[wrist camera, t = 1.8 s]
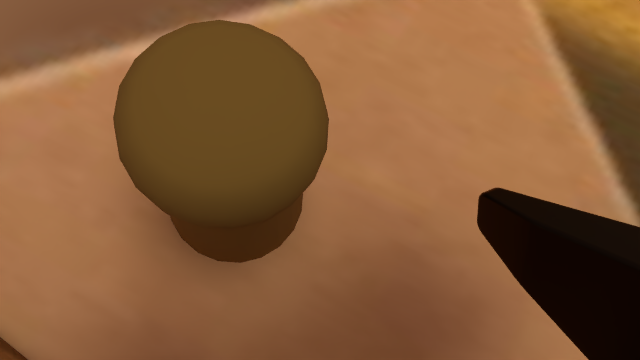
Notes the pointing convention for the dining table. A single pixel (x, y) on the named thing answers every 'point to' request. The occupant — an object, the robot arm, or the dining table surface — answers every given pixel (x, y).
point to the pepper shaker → (223, 135)
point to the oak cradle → (9, 352)
